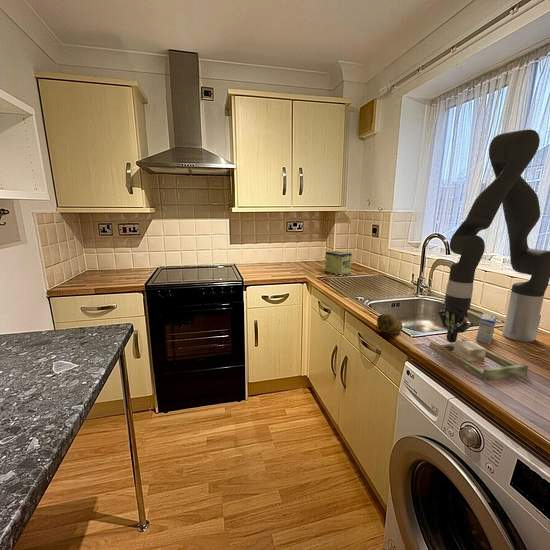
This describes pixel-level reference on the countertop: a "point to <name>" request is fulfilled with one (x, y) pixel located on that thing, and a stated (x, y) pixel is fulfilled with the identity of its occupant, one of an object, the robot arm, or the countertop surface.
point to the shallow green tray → (487, 374)
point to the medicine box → (486, 328)
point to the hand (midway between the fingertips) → (450, 341)
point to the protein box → (338, 262)
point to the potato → (389, 324)
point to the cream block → (469, 350)
